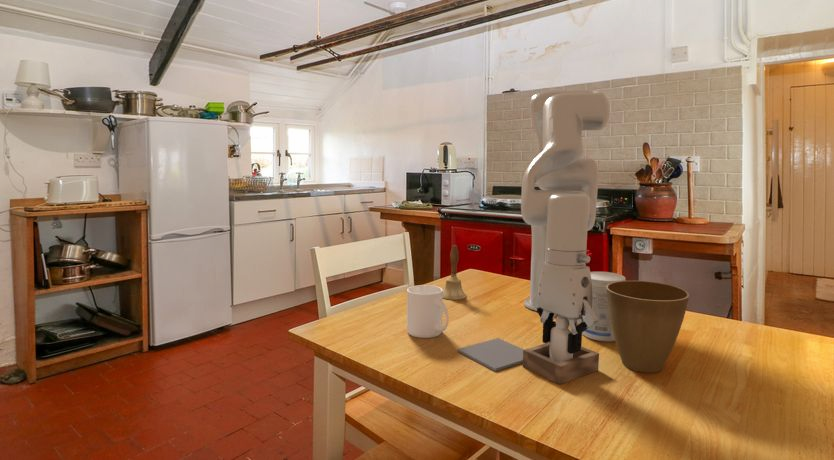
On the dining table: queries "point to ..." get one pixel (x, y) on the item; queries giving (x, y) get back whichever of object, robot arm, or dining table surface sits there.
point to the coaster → (494, 354)
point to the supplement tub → (601, 306)
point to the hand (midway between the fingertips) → (561, 345)
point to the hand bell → (453, 279)
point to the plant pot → (645, 321)
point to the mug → (425, 311)
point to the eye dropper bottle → (560, 340)
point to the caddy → (563, 371)
